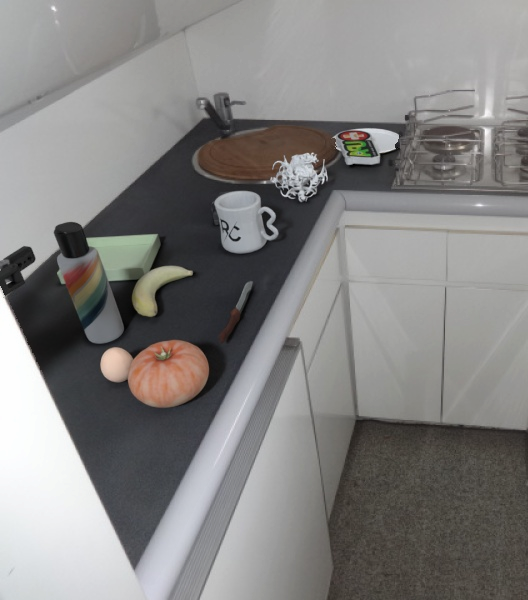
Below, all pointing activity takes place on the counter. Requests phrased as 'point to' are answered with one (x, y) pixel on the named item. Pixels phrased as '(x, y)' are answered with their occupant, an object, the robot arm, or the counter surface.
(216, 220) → the reflex sight
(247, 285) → the knife
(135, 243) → the green tray
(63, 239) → the lotion bottle
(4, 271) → the robot arm
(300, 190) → the figurine
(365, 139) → the sign
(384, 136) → the plate
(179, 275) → the fruit
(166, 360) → the tomato
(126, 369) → the egg
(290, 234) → the counter surface
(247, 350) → the counter surface
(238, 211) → the mug
